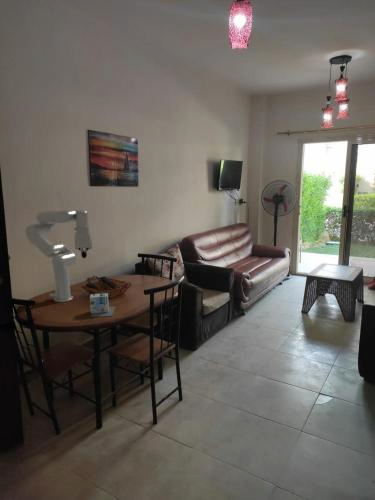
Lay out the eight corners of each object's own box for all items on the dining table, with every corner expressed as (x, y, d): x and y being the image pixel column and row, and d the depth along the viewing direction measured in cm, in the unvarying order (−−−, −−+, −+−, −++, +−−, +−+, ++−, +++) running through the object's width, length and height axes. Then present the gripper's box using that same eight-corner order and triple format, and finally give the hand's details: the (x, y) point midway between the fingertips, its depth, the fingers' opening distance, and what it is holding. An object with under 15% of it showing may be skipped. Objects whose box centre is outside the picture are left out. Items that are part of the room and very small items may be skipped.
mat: (91, 316, 211) (91, 316, 211) (96, 307, 227) (96, 307, 227) (111, 316, 212) (111, 315, 212) (115, 307, 228) (115, 306, 228)
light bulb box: (89, 297, 213) (107, 296, 215) (90, 293, 220) (107, 292, 222) (90, 314, 216) (108, 312, 218) (91, 310, 222) (109, 308, 224)
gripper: (69, 230, 222) (71, 259, 226) (93, 230, 223) (94, 258, 227) (72, 229, 230) (73, 256, 233) (95, 229, 231) (96, 256, 234)
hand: (84, 257), depth 230 cm, fingers closed
